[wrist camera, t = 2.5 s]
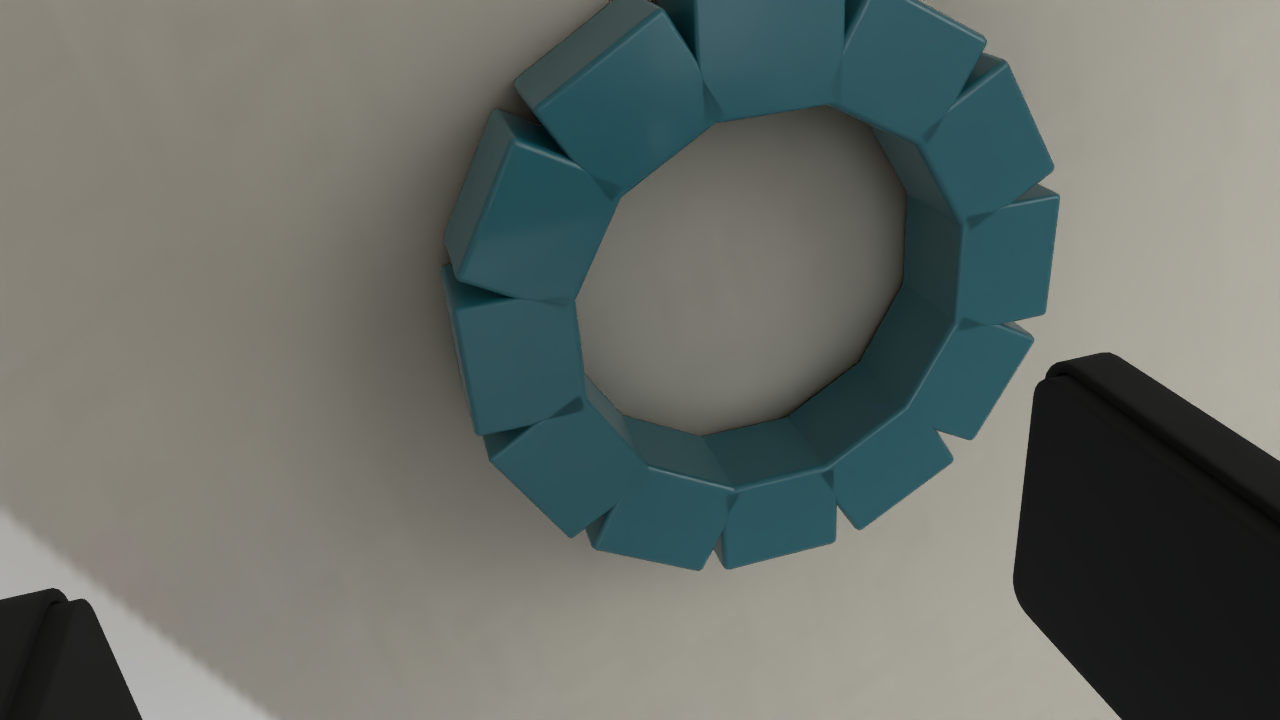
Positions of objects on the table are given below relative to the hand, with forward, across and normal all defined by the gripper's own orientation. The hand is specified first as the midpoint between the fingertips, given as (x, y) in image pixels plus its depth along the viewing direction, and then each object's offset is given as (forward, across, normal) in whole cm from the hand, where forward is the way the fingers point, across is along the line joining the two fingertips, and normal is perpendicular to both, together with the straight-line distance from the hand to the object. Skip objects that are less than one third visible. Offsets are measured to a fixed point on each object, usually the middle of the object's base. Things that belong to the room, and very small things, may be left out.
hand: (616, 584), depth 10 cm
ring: (+6, -3, 0) cm, 7 cm away
